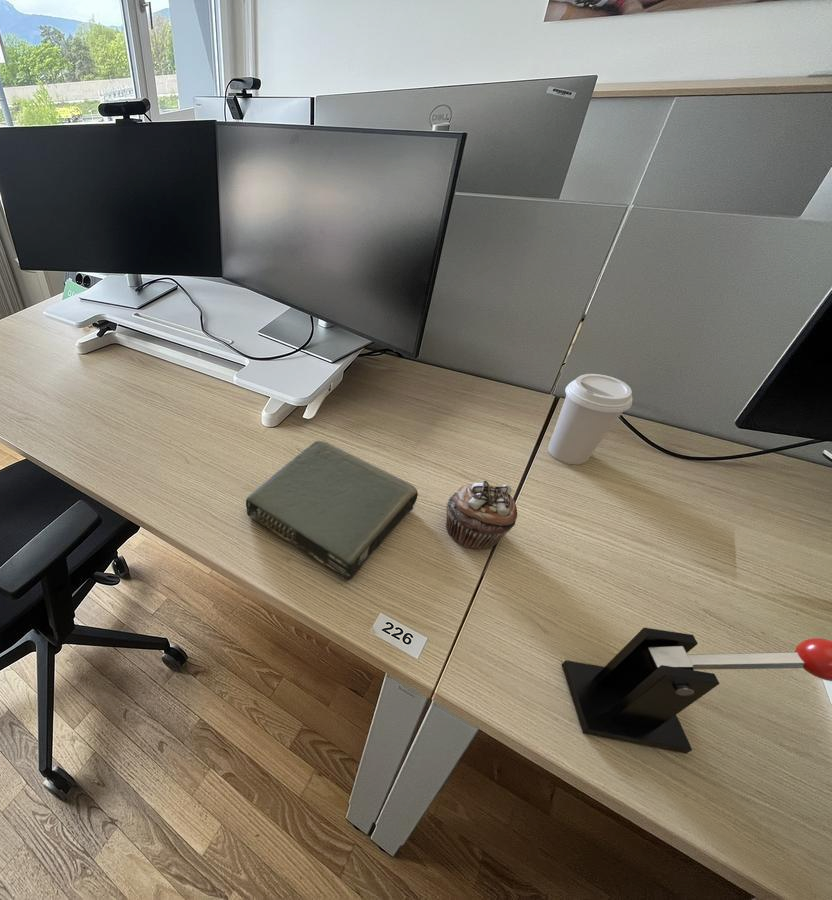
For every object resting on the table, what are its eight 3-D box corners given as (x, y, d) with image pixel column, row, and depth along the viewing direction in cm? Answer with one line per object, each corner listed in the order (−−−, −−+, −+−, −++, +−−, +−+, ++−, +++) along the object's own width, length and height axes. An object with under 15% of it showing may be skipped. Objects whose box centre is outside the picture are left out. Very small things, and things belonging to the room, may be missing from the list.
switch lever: (836, 650, 43) (843, 629, 42) (867, 689, 41) (875, 669, 39) (645, 654, 50) (644, 637, 48) (660, 688, 47) (660, 671, 46)
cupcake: (498, 512, 78) (518, 469, 71) (510, 559, 70) (533, 515, 64) (437, 505, 80) (451, 462, 73) (443, 549, 73) (458, 506, 66)
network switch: (236, 526, 79) (234, 506, 76) (305, 451, 93) (305, 431, 90) (363, 594, 68) (367, 573, 64) (420, 497, 81) (426, 476, 78)
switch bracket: (653, 680, 56) (717, 625, 48) (686, 754, 50) (766, 706, 42) (561, 664, 58) (607, 609, 50) (582, 733, 52) (639, 684, 44)
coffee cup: (528, 440, 91) (557, 374, 81) (574, 434, 91) (609, 368, 82) (559, 473, 84) (596, 405, 74) (610, 466, 84) (653, 398, 74)
